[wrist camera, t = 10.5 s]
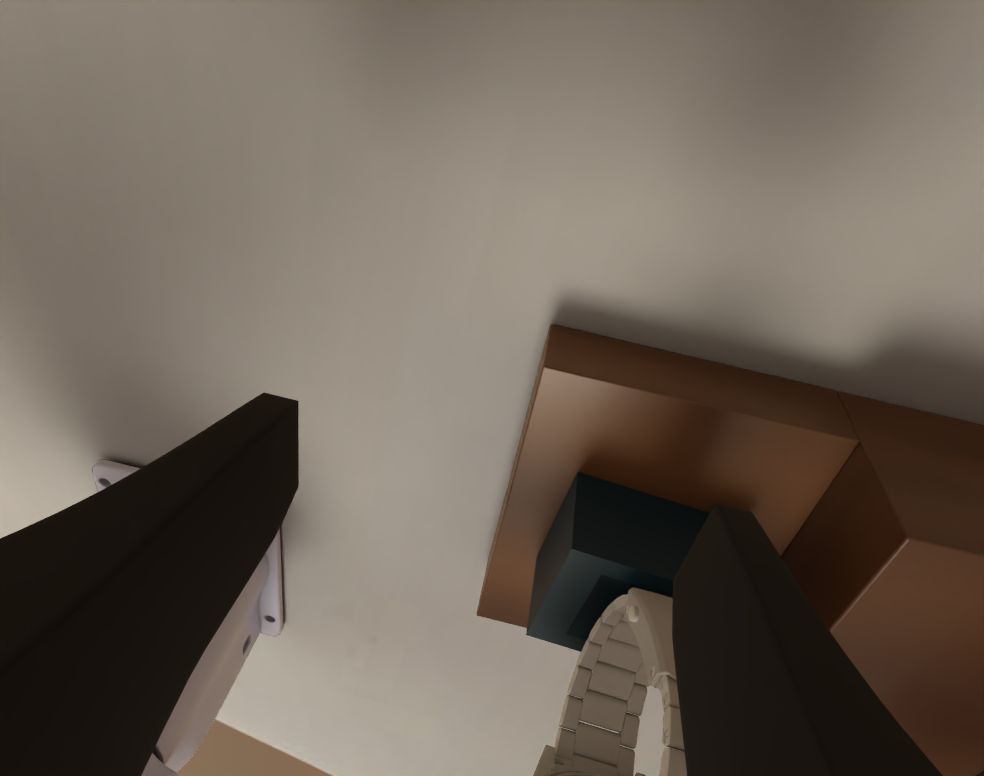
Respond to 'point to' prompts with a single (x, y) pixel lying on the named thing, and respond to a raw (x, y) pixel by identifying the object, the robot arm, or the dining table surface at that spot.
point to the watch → (612, 621)
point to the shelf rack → (780, 508)
